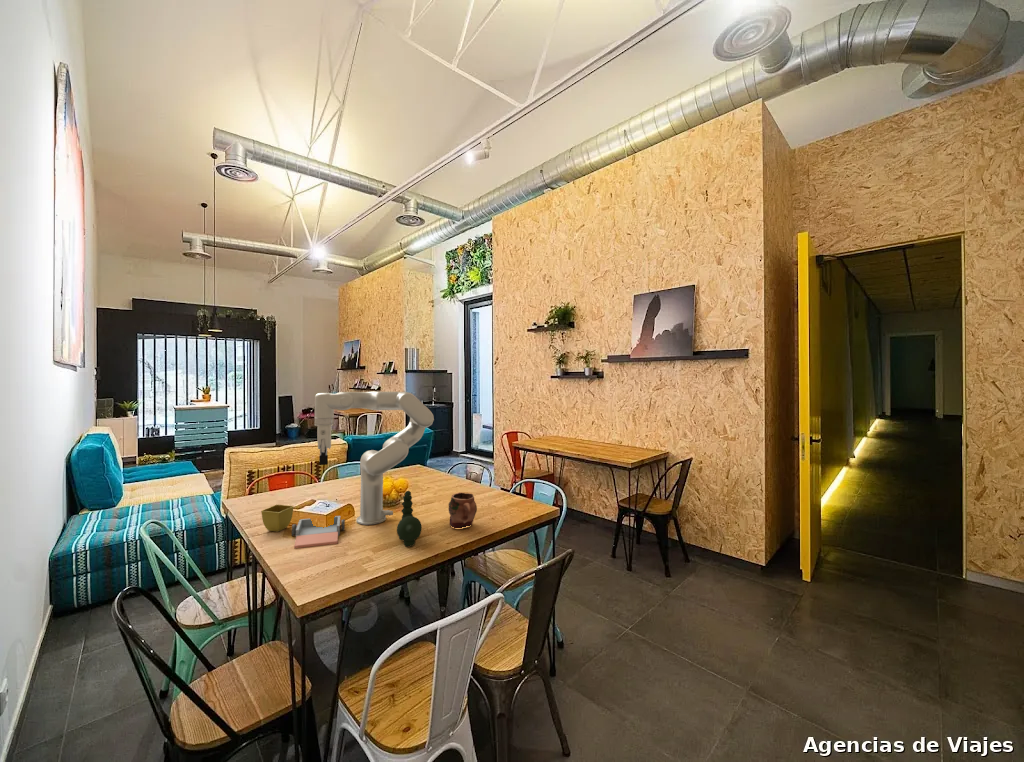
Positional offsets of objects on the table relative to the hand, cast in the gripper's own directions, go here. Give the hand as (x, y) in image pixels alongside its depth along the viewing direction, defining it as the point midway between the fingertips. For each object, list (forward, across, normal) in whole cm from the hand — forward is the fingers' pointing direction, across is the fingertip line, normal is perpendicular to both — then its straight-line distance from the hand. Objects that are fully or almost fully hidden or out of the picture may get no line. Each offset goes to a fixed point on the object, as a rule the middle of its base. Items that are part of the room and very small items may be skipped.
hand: (323, 464), depth 181 cm
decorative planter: (+27, -18, -57) cm, 66 cm away
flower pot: (+27, +3, +18) cm, 33 cm away
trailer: (+27, -4, +1) cm, 27 cm away
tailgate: (+26, -13, +1) cm, 29 cm away
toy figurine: (+27, -25, -33) cm, 50 cm away
